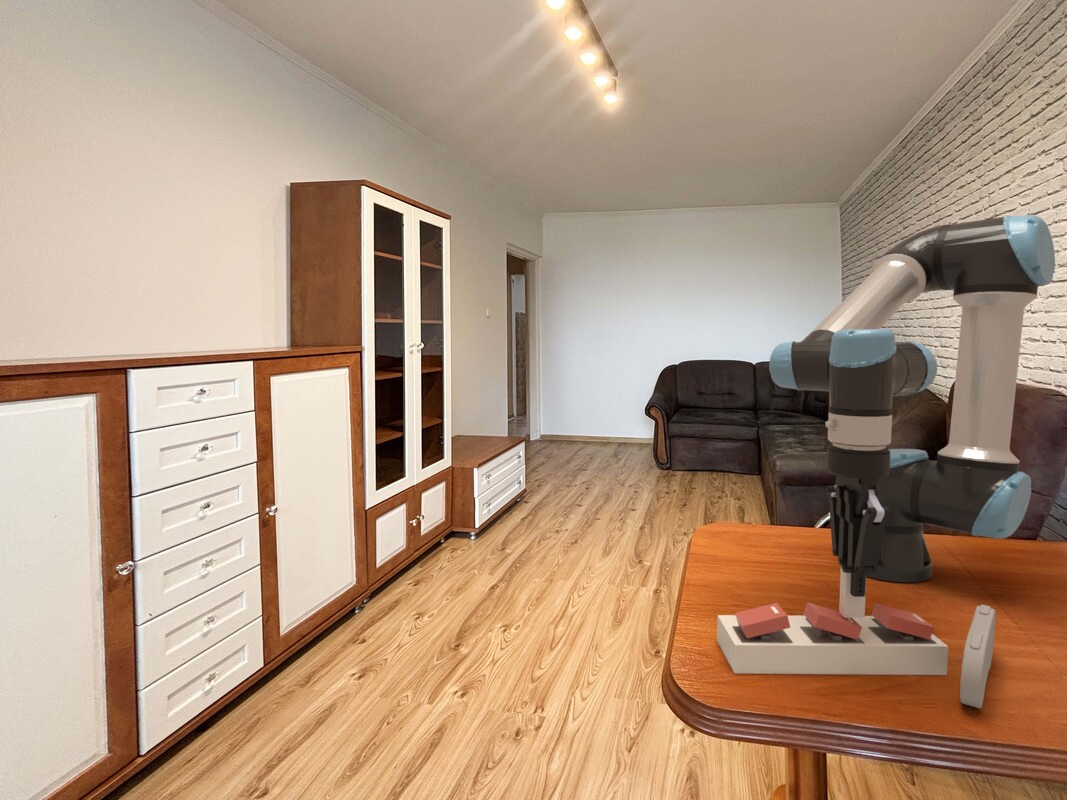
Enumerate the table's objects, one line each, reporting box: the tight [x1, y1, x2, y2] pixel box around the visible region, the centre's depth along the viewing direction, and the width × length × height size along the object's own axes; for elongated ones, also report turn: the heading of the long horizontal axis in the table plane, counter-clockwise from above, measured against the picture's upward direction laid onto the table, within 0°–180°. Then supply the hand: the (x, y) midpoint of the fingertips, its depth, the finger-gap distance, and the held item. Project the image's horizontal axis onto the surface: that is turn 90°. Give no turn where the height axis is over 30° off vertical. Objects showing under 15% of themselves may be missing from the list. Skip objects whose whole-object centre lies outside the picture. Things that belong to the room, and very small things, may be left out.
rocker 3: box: [871, 602, 935, 639], centre depth 86 cm, size 6×4×2 cm, turn 90°
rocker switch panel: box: [716, 614, 949, 676], centre depth 88 cm, size 28×9×5 cm, turn 88°
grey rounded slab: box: [959, 604, 997, 709], centre depth 81 cm, size 20×2×8 cm, turn 140°
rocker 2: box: [802, 602, 862, 640], centre depth 86 cm, size 6×4×2 cm, turn 90°
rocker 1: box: [734, 602, 790, 638], centre depth 86 cm, size 6×4×2 cm, turn 87°
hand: (851, 614), depth 86 cm, fingers closed
